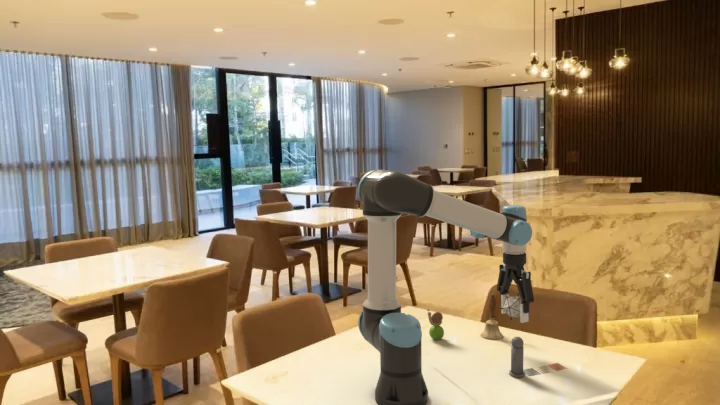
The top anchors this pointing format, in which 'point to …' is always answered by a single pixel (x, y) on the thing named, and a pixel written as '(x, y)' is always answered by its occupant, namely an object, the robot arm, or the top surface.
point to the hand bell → (492, 323)
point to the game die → (512, 306)
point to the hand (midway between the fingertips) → (514, 317)
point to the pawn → (517, 358)
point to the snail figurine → (436, 325)
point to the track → (542, 369)
